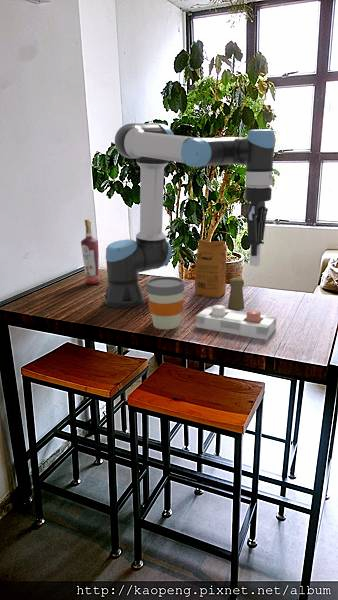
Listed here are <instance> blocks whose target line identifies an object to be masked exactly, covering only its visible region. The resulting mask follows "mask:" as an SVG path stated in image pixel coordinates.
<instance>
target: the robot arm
mask: <svg viewBox="0 0 338 600" xmlns="http://www.w3.org/2000/svg"><path fill="white" fill-rule="evenodd" d="M114 146H115V148H116V151H117V152H118V153H119V155H121V156H122V157H124V158H127V159H132V160H133V159H134V160H135V159H136V160H135V161H136V164H137V165H138V167H140V171H139V172H140V179H139V180H140V183H139V184H140V188H139V189H140V190H139V192H140V193H139V198H140V199H139V201H140V203H139V209H140V210H139V212H140V213H139V231H138V233H137V234H135V240H134V239H130V238H129V239H128V238H127V239H119V240H116V241H113V242H111V243H109V244H108V245H107V247H106V248H105V261H106V272H107V273H106V274H107V275H106V276H107V286H106V290H105V295H104V304H105V306H107V307H110V308H115V309H129V308H134V307H137V306H140V305H142V304H143V303H144V302H145V297H144V296H145V294H144V293H143V291H142V288H141V285H140V282H139V273H143V272H147V271H151V270H158V269H160V268H162V267H165V266H166V265H168V264H169V262H170V261H171V258H172V255H173V253H172V246H171V244H170V243H171V242H170V241H169V240H168V238H166V237H167V236H166V234H165V233H164V232H163V218H164V217H163V214H164V211H163V209H164V206H163V205H164V179H165V176H164V174H165V168H166V166H167V165H169V162H175V163H182V164H185V165H186V166H188V167H191V168H192V167H193V168H201V167H209V166H226V165H245V169H246V170H245V187H246V188H245V190H244V192H245V193H244V199H245V201H247V202H250V204H249V207H248V212H246V214H245V217H246V226H247V245H249V246H250V247H249V249H250V250H249V252H250V253H249V266H250V267H251V266H252V267H260V265H261V263H260V262H261V249H262V248H261V247H262V246H261V245H264V243H265V242H264V239H265V238H264V237H265V229H266V222H267V215H268V207H266V202H269V201H271V200H272V191H273V190H272V187H271V186H272V185H273V179H274V178H275V175H274V174H273V171H274V169H273V166H274V155H275V148H276V145H275V131H274V130H273V129H249V130H248V131H247V136H246V137H229V136H228V137H227V136H226V137H198V136H197V137H196V136H188V135H187V136H185V135H175V134H174V131H172V130H171V128H170V127H169V126H168V125H166V124H164V123H158V122H153V123H152V122H151V123H147V122H146V123H141V122H140V123H136V122H135V123H133V122H132V123H127V124H124V125H122V126H121V127H120V128H119V129H118V130H117V131H116V133H115V135H114Z"/></svg>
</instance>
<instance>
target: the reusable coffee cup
mask: <svg viewBox="0 0 338 600" xmlns="http://www.w3.org/2000/svg"><path fill="white" fill-rule="evenodd" d="M185 288H186V287H185V282H184V280H183V278H179V277H176V276H158V277H157V276H156V277H153V278H151V279H148V280H147V282H146V292H147V295H148V296H147V302H148V303H147V305H148V310H149V313H150V315H151V318H152V323H153V327H154V328H156V329H158V330H172V329H176V328H178V327H179V326H180V324H181V315H182V312H183V309H184V308H183V307H184V301H185V300H184V299H185V297H184V292H185V290H186V289H185Z"/></svg>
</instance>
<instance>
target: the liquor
mask: <svg viewBox="0 0 338 600" xmlns="http://www.w3.org/2000/svg"><path fill="white" fill-rule="evenodd" d="M84 226H85V237H84V238H83V239H82V240H81V241H80V247H81V253H82V260H83V267H84V274H85V281H84V282H85V283H86V284H87V285H91V286H92V285H97V284H99V282H100V281H101V278H100V266H99V265H100V263H99V261H100V260H99V259H100V258H99V239H96V238H95V237H94V236H93V231H92V220H91V219H88V218H87V219H84Z"/></svg>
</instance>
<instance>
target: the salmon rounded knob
mask: <svg viewBox="0 0 338 600" xmlns="http://www.w3.org/2000/svg"><path fill="white" fill-rule="evenodd" d="M246 312H247V318H246V322H252V323H258V324H259V323H260V319H261V315H262V314H261V313H262V312H261V311H259V310H254V309H252V310H247V311H246Z"/></svg>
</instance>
